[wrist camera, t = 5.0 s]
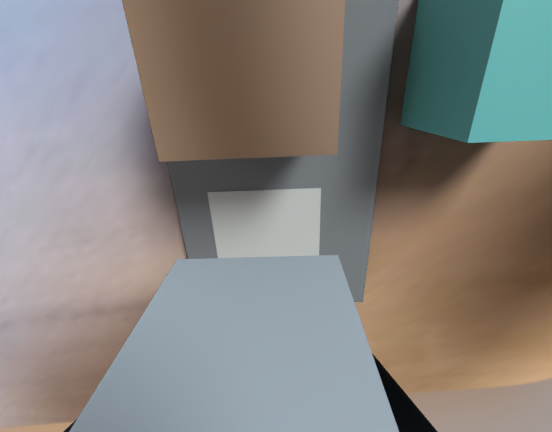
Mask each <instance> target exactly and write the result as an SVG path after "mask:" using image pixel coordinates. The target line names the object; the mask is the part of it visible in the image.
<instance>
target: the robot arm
mask: <svg viewBox="0 0 552 432" xmlns="http://www.w3.org/2000/svg"><path fill="white" fill-rule="evenodd" d="M372 355H373V354H372ZM373 358H374V361H375V363H376V366H377V369H378V372H379V375H380V378H381V381H382V384H383V387H384V390H385V392H386V395H387V398H388V401H389V404H390V407H391V410H392V413H393V416H394V418H395V421H396V424H397V427H398V430H399V432H437V431H436V429H435V428H434V427H433V426H432V425H431V423H430V422H429V421H428V420H427V419H426V417H425V416H424V415H423V414H422V413H421V411H420V410H419V409H418V408H417V407H416V405H415V404H414V403H413V402H412V401H411V399H410V398H409V397H408V396H407V395H406V393H405V392H404V391H403V390H402V388H401V387H400V386H399V385H398V384H397V382H396V381H395V380H394V379H393V378H392V376H391V375H390V374H389V373H388V372H387V370H386V369H385V368H384V367H383V366H382V364H381V363H380V362H379V361H378V360H377V358H376V357H375V356H374V355H373ZM77 419H78V418H77ZM77 419H76V420H77ZM76 420H75V421H74V422H73V423H72V424H71V425H70V426H69V427H68V428H67V429H66V430H65V431H64V432H69V431H70V430H71V428H72V427H73V425H74V423H75V422H76Z"/></svg>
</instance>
